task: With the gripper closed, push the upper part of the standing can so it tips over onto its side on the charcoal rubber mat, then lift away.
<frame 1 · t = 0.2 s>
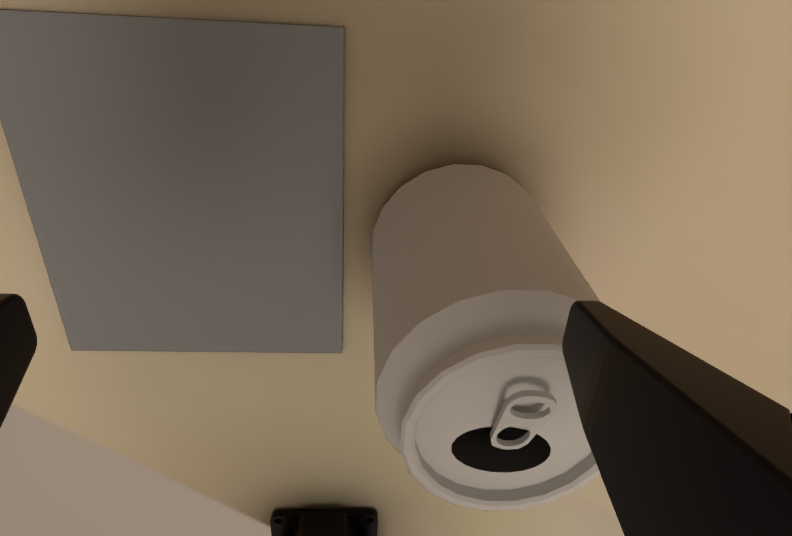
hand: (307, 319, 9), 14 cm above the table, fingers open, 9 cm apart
mat: (190, 209, 24), on the table
can: (453, 234, 25), on the table
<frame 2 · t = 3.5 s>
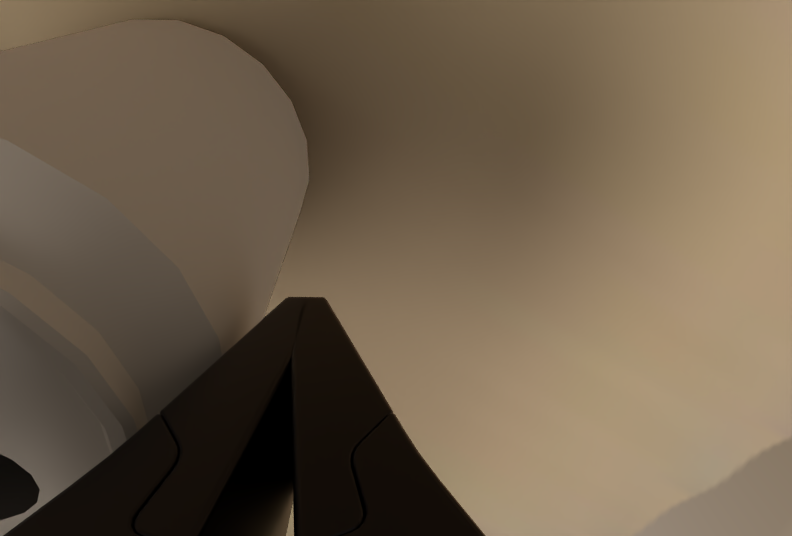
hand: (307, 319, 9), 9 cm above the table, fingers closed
can: (192, 147, 17), on the table, touching gripper
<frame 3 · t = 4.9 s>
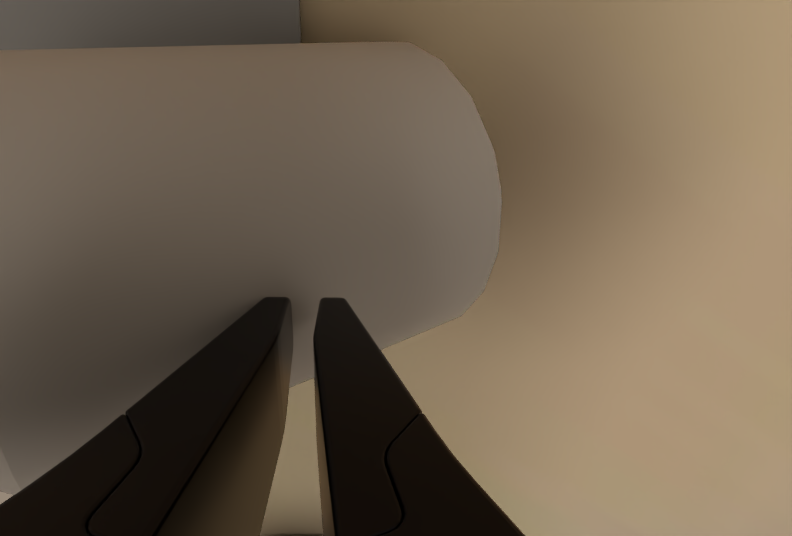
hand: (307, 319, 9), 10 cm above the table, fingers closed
mat: (91, 125, 17), on the table
can: (426, 184, 15), point 3 cm above the table, touching gripper
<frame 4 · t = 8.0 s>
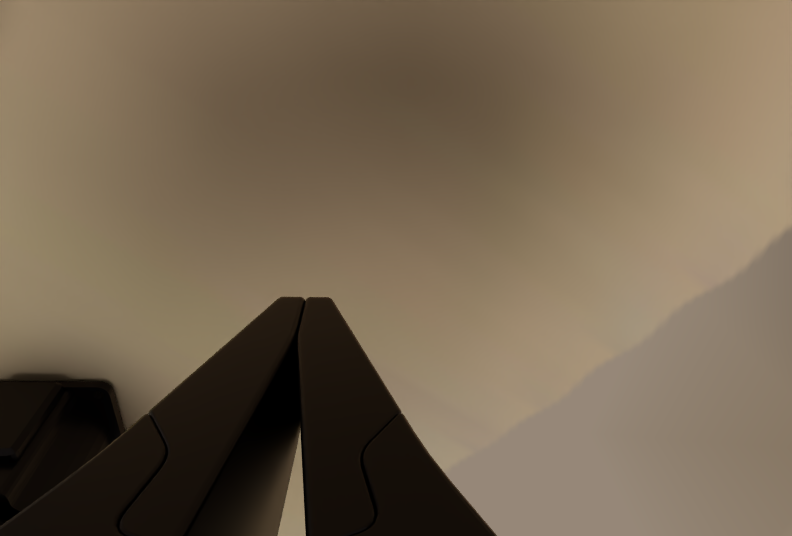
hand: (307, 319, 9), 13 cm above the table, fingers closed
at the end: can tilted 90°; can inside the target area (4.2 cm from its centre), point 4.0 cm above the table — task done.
